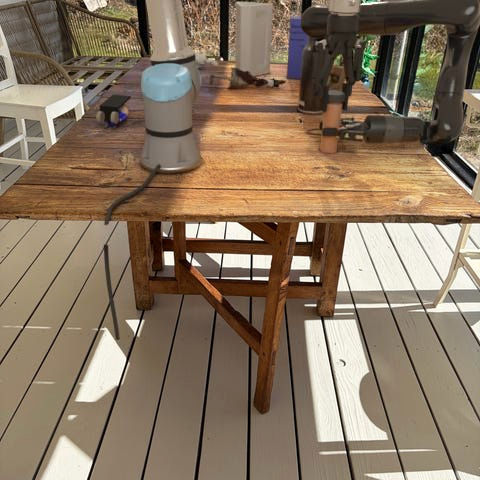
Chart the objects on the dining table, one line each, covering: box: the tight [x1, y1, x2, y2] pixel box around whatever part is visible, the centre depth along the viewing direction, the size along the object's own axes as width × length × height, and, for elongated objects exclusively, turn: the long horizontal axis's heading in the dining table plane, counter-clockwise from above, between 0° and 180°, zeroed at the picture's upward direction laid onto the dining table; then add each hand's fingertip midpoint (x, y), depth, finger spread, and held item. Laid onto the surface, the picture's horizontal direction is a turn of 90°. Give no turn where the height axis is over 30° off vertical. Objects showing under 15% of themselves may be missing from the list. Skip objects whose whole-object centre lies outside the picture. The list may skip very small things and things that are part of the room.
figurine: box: [209, 66, 287, 89], centre depth 190 cm, size 24×8×30 cm
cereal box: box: [286, 16, 309, 80], centre depth 203 cm, size 17×5×24 cm, turn 86°
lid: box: [327, 89, 345, 103], centre depth 125 cm, size 6×6×2 cm
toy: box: [195, 51, 219, 69], centre depth 223 cm, size 24×25×7 cm
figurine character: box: [95, 94, 132, 130], centre depth 148 cm, size 7×8×15 cm
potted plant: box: [327, 58, 346, 90], centre depth 191 cm, size 13×9×15 cm
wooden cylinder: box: [319, 102, 343, 154], centre depth 129 cm, size 5×5×15 cm
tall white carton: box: [234, 1, 274, 77], centre depth 210 cm, size 19×15×28 cm
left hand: (333, 109), depth 127 cm, fingers closed on lid, 5 cm apart
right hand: (321, 128), depth 130 cm, fingers closed on wooden cylinder, 4 cm apart
